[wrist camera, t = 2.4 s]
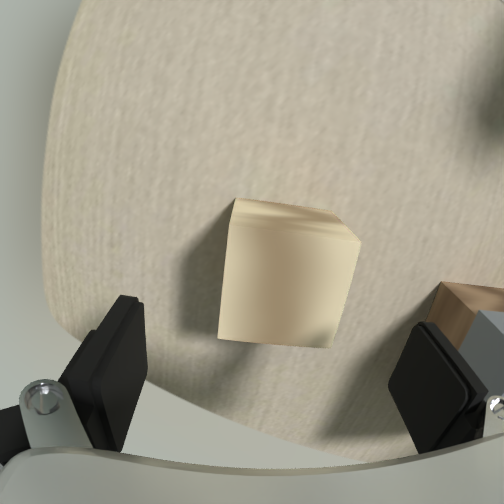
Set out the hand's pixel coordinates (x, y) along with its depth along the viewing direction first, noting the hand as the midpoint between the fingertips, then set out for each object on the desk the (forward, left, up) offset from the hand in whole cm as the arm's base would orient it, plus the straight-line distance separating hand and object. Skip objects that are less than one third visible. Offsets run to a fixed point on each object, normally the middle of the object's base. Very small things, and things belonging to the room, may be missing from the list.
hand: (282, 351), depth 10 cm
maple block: (-1, 0, -9) cm, 9 cm away
